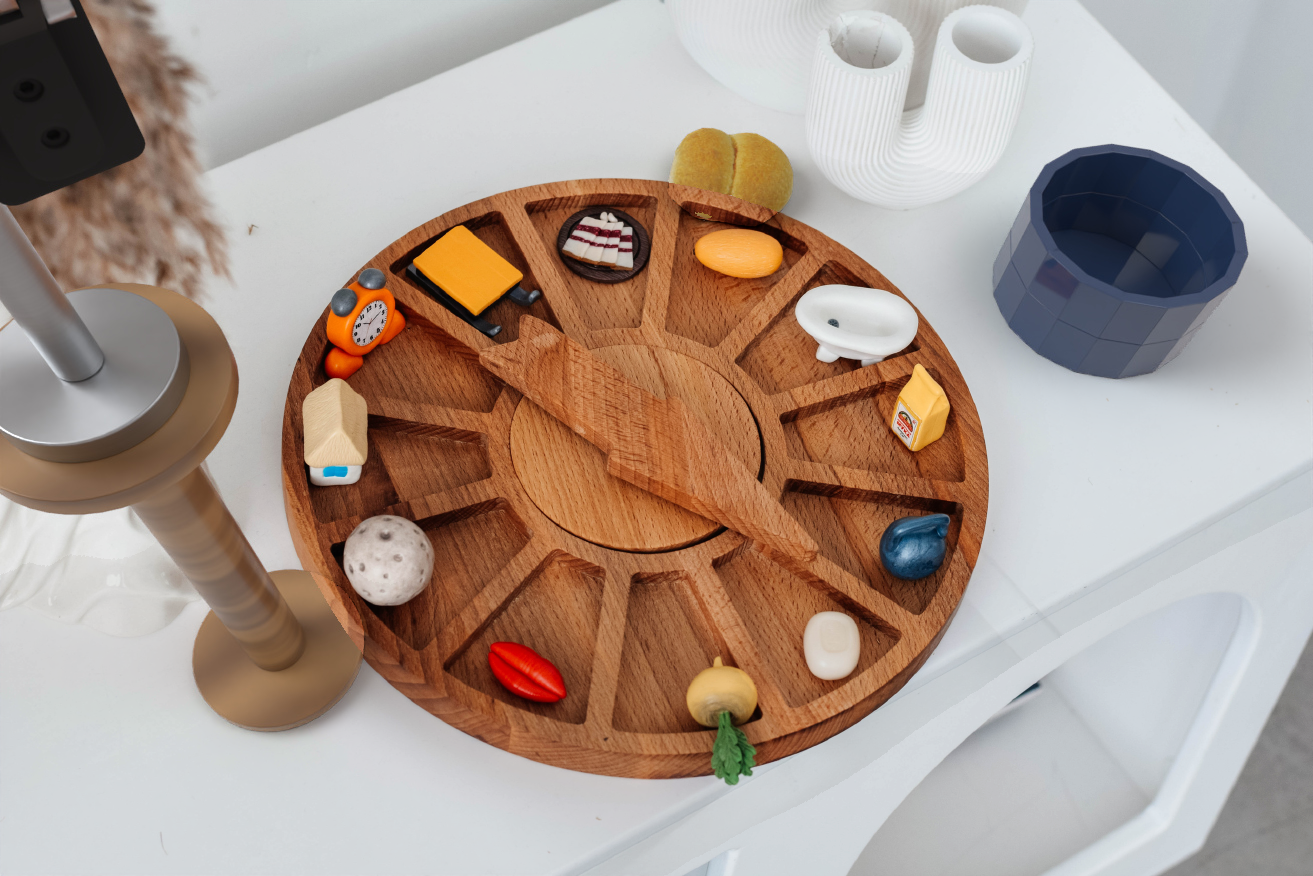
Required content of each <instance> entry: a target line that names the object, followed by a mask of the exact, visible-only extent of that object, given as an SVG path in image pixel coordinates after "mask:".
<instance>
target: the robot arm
mask: <svg viewBox="0 0 1313 876" xmlns="http://www.w3.org/2000/svg"><path fill="white" fill-rule="evenodd" d="M145 149H146V139H145V137H144V134H143V133H142V130H141V129H140V126H139V124H138V123H137V120H136V118H135V116H134V114H133V111H132V109H131V108H130V105H129V103H128V101H127V99H126V97H125V94H124V92H123V90H122V88H121V86H120V84H119V81H118V79H117V77H116V74H115V73H114V71H113V69H112V67H111V65H110V62H109V60H108V58H107V56H106V54H105V52H104V49H103V47H102V45H101V43H100V42H99V39H98V36H97V35H96V33H95V30H94V28H93V26H92V24H91V22H90V20H89V18H88V16H87V13H86V10H85V9H84V7H83V5H82V2H81V1H80V0H0V203H2V204H4V205H6V206H7V207H8V206H9V207H14V206H15V207H16V206H20V205H24V204H26V203H29V202H31V201H34V200H37V199H39V198H42V197H44V196H46V195H49V194H51V193H54V192H56V191H59V190H61V189H64V188H67V187H69V186H72V185H74V184H76V183H79V182H82V181H83V180H86V179H89V178H92V177H93V176H97V175H99V174H102V173H104V172H106V171H109V170H112V169H115V168H116V167H118V166H121V165H124V164H126V163H129V162H132V161H134V160H136V159H138V158H139V157H140V156H141V155H142V154H143V153H144V150H145Z"/></svg>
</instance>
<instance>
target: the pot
mask: <svg viewBox="0 0 1313 876" xmlns="http://www.w3.org/2000/svg"><path fill="white" fill-rule="evenodd" d="M1248 257H1249V249H1248V243H1247V236H1246V230H1245V223H1244V222H1243V220H1242V219H1241V217H1240V216H1239V214H1238V213H1237V211H1236V209H1235V208H1234V206H1233V205H1232V203H1231V202H1230V200H1229V199H1228V197H1227V196H1226V195H1225V193H1224V192H1223V191H1222V190H1221V189H1219V188H1218V187H1217V186H1216V185H1214V184H1213V183H1211V181H1209V180H1208V179H1207V178H1205V176H1203V175H1201V173H1199V172H1198V171H1196V170H1195V169H1194V168H1192V167H1191V166H1190V165H1188V164H1186V163H1183V162H1180V161H1179V160H1176V159H1173V158H1171V157H1169V156H1166V155H1165V154H1162V153H1160V152H1158V151H1155V150H1153V149H1149V148H1141V147H1135V146H1130V145H1122V144H1116V143H1105V144H1098V145H1097V144H1096V145H1091V146H1084V147H1076V148H1073V149H1070V150H1069V151H1067V152H1065V153H1063V154H1062V155H1060V156H1058V157H1056V158H1055V159H1053V160H1051V161H1049V162H1048V163H1045V164H1044V165H1043V167H1042V169H1041V170H1040V172H1039V174H1038V175H1037V177H1036V179H1035V180H1034V182H1033V183H1032V185H1031V187H1030V188H1029V190H1028V193H1027V194H1026V197H1025V198H1024V201H1023V203H1022V205H1021V207H1020V209H1019V211H1018V213H1017V215H1016V217H1015V219H1014V221H1013V223H1012V225H1011V228H1010V230H1009V232H1008V233H1007V236H1006V238H1005V240H1004V242H1003V243H1002V245H1001V248H1000V250H999V252H998V254H997V256H996V259H995V260H994V263H993V266H992V294H993V298H994V300H995V303H996V305H997V307H998V310H999V312H1000V313H1001V314H1000V315H1002V317H1003V319H1004V320H1005V323H1006V324H1007V326H1008V328H1009V329H1010V330H1012V331H1013V333H1014V334H1015V335H1017V337H1018V338H1019V339H1020V340H1021V341H1022V342H1024V343H1025V344H1026V345H1027V346H1028V347H1029V348H1030V349H1031V350H1033V351H1034V352H1035V353H1036V354H1037V355H1039V356H1041V357H1042V358H1044V359H1046V360H1047V359H1048V360H1049V361H1051V363H1054V364H1055V365H1058V366H1061V367H1063V368H1065V369H1067V370H1070V371H1072V372H1074V373H1078V374H1084V375H1088V376H1092V377H1100V378H1108V379H1115V380H1117V379H1123V378H1132V377H1137V376H1138V377H1139V376H1142V375H1147V374H1152V373H1155V372H1156V371H1158V370H1159V369H1161V368H1162V367H1163V366H1165V365H1167V364H1168V363H1169V362H1170V361H1172V360H1174V359H1175V358H1176V357H1177V356H1179V355H1180V354H1181V353H1182V352H1183V350H1185V348H1186V347H1187V346H1188V345H1189V343H1190V342H1191V340H1193V338H1194V337H1195V335H1197V333H1198V332H1199V330H1200V329H1201V328H1203V326H1204V324H1205V323H1206V322H1207V321H1208V319H1209V318H1210V317H1211V315H1212V314H1213V313H1214V312H1215V310H1217V308H1218V307H1219V306H1220V304H1221V303H1222V302H1223V301H1224V299H1225V298H1226V297H1227V296H1228V294H1229V293H1230V292H1231V290H1232V289H1233V288H1234V287H1235V285H1236V284H1237V283H1238V281H1239V278H1240V276H1241V274H1242V271H1243V268H1244V266H1245V264H1246V262H1247V260H1248Z"/></svg>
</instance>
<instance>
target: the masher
mask: <svg viewBox="0 0 1313 876" xmlns="http://www.w3.org/2000/svg"><path fill="white" fill-rule="evenodd" d="M67 292H68V291H67ZM0 302H1V303H2V305H3V306H4V308H5V309H6V310H7V311H8V313H9V314H10V316H11V317H12V319H13V318H14V319H13V320H12V319H11V320H12V321H11V320H10V321H11V322H10V323H9V324H7V325H6V326H5V327H4V328H3V329H2V330H1V331H0V432H1V434H2V435H3V436H4V437H5V438H6V439H7V440H8V441H9V442H10V443H11V444H12V445H14V446H15V447H16V448H17V449H19V450H21V451H23V452H24V453H26V454H28V455H31V456H34V457H36V458H39V459H43V460H48V461H53V462H62V463H78V462H88V461H93V460H98V459H103V458H106V457H109V456H112V455H116V454H118V453H120V452H123V451H125V450H127V449H130V448H131V447H133V446H135V445H137V444H139V443H140V442H142V441H143V440H145V439H146V438H148V437H149V436H151V435H152V434H153V433H154V432H156V431H157V430H158V429H159V428H160V427H161V426H162V425H163V424H164V423H165V422H166V421H167V420H168V419H169V418H170V417H171V416H172V414H173V413H174V411H175V410H176V409H177V407H178V406H179V404H180V402H181V400H182V398H183V396H184V394H185V391H186V389H187V385H188V381H189V376H190V360H189V355H188V351H187V348H186V346H185V344H184V342H183V340H182V338H181V336H180V334H179V332H178V330H177V329H176V327H175V325H174V323H173V321H172V320H171V319H170V317H169V316H168V315H167V313H166V312H164V311H163V310H162V309H161V308H160V307H159V306H158V305H156V304H155V303H153V302H152V301H150V300H148V299H146V298H144V297H142V296H140V295H137V294H134V293H132V292H128V291H123V290H118V289H109V288H94V289H83V290H77V291H72V292H68V293H64V290H63V289H62V287H61V286H60V284H59V283H58V281H57V279H55V277H54V275H53V274H52V272H51V271H50V269H49V267H47V265H46V263H45V262H44V260H43V259H42V257H41V255H40V254H39V253H38V252H37V250H36V248H35V246H34V245H33V243H32V242H31V240H30V239H29V238H28V236H27V235H26V233H25V231H24V229H22V227H21V225H20V224H19V222H18V221H17V219H16V218H15V216H14V215H13V213H12V211H11V210H10V209H9V207H8V205H4V204H2V203H0Z"/></svg>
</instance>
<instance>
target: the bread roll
mask: <svg viewBox="0 0 1313 876" xmlns="http://www.w3.org/2000/svg"><path fill="white" fill-rule="evenodd" d="M668 182H669V183H675V184H680V185H686V186H691V187H696V188H700V189H704V190H710V191H713V192H719V193H722V194H727V195H732V196H734V197H736V198H740V199H742V200H745V201H748V202H750V203H754V204H758V205H761V206H763V207H766V208H769V209H772V210H774V211H777V212H779V213H780V212H781V211H782V210H783V209H785V207H786V206H787V205H788V203H789V201H790V199H791V198H792V195H793V189H794V171H793V167H792V165H791V161H790V159H789V157H788V156H787V154H786V152H785V151H783V149H782V148H781V147H779V146H778V145H777V144H776V143H774V142H773V141H771V140H770V139H769V138H766V137H765V136H763V135H761V134H759V133H755V132H739V133H732V134H728V133H726V132H725V131H723V130H721V129H718V128H715V127H701V128H697V129H696V130H693V131H692V132H689V133H687V134H686V135H685V136H684V138H683V139H682V140H681V142H680V143H679V145H678V146H677V147H676V148H675V151H674V155H673V159H672V162H671V165H670V171H669V176H668V179H667V183H668ZM695 214H697V216H700V217H703V218H705V219H708V218H711V217H712V216H709V215H708V214H704V213H703V212H702V213H699V212H698V213H696V212H695Z"/></svg>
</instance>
